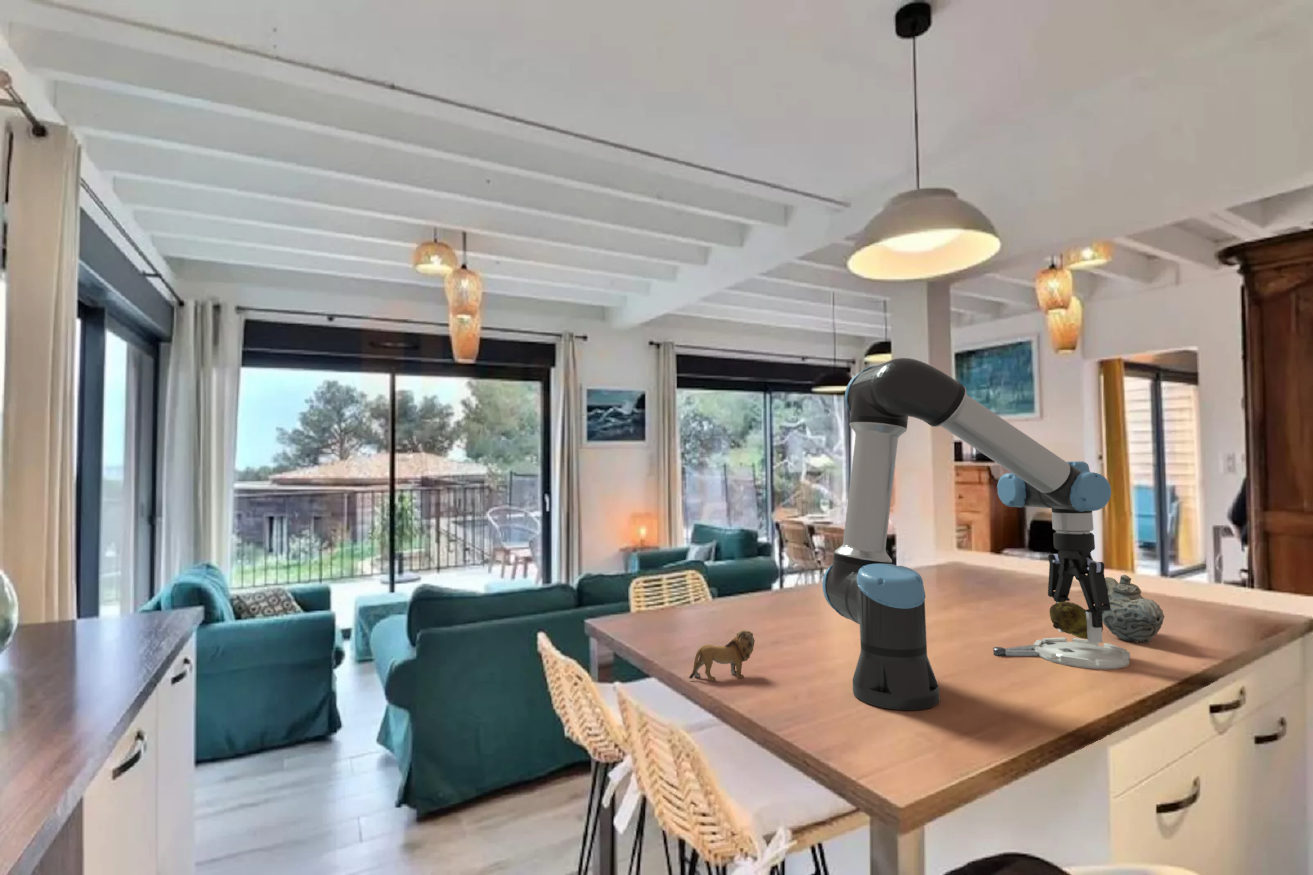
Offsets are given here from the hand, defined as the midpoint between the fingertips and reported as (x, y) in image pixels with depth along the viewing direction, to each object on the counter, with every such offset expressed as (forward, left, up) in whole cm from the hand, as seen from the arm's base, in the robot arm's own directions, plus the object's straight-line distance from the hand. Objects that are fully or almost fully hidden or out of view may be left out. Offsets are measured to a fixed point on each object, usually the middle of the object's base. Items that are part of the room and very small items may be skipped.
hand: (1079, 636), depth 137 cm
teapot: (+21, +11, -5) cm, 24 cm away
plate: (0, 0, -4) cm, 4 cm away
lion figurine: (-78, 0, -5) cm, 79 cm away
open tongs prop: (-9, +4, -4) cm, 11 cm away
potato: (0, 0, 0) cm, 0 cm away
